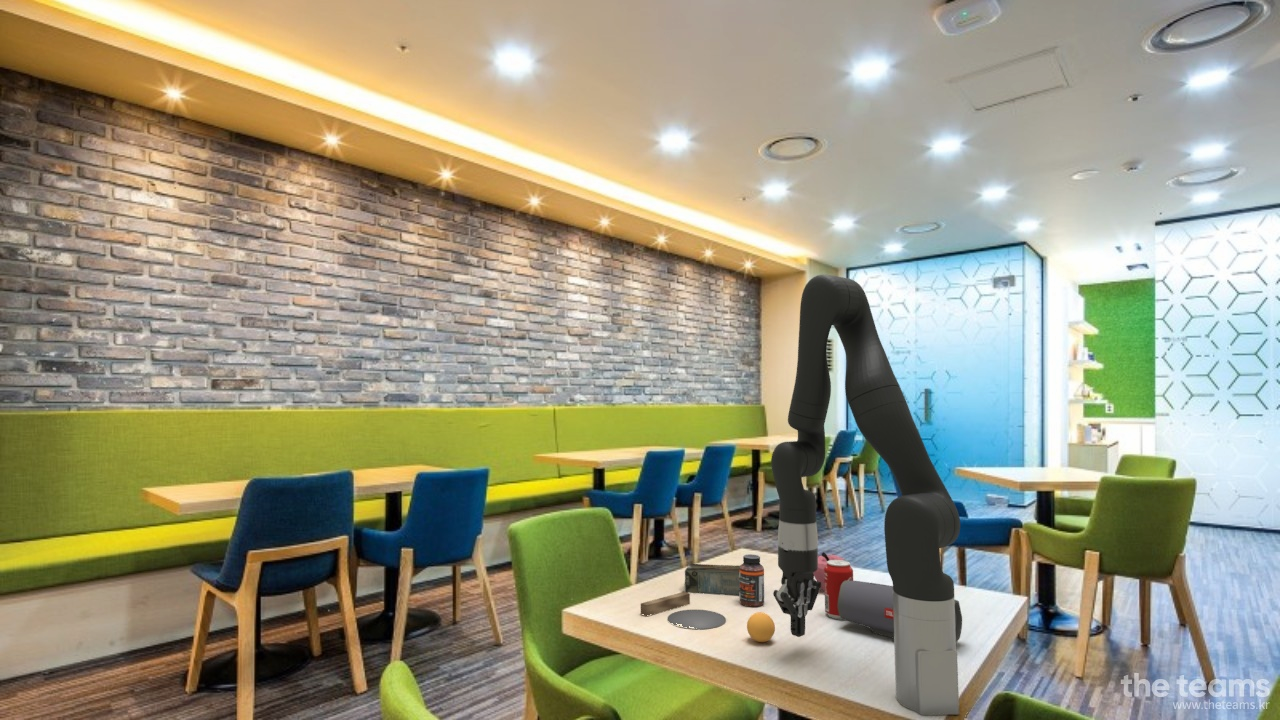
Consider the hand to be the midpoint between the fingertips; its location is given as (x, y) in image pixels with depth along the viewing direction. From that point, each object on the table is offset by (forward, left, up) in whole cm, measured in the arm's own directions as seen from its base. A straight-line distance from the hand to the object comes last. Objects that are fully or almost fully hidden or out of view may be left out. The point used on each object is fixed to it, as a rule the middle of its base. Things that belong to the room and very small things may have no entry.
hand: (797, 635), depth 127 cm
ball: (+7, +6, -1) cm, 9 cm away
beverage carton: (+43, +8, -4) cm, 44 cm away
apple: (+42, -19, -4) cm, 46 cm away
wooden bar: (+28, +24, -4) cm, 37 cm away
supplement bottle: (+32, +3, -4) cm, 32 cm away
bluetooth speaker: (+9, -23, -4) cm, 25 cm away
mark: (+21, +17, -4) cm, 27 cm away
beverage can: (+22, -15, -4) cm, 27 cm away
